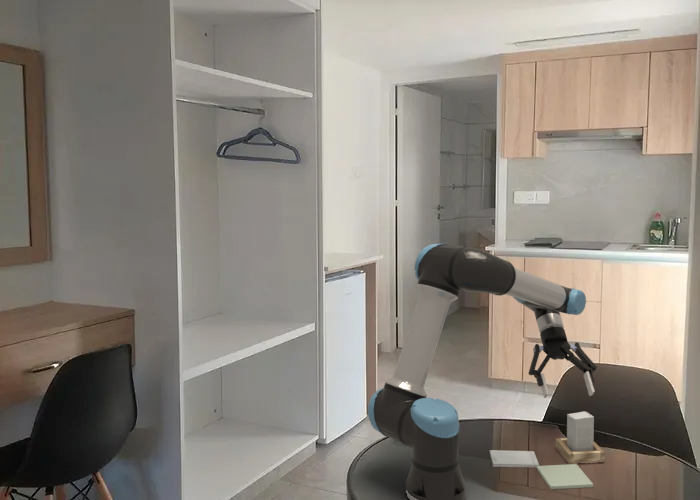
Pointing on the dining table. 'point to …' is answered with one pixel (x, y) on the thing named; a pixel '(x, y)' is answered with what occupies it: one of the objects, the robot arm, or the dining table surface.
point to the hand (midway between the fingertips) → (569, 394)
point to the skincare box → (580, 431)
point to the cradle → (579, 456)
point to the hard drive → (513, 458)
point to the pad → (564, 476)
